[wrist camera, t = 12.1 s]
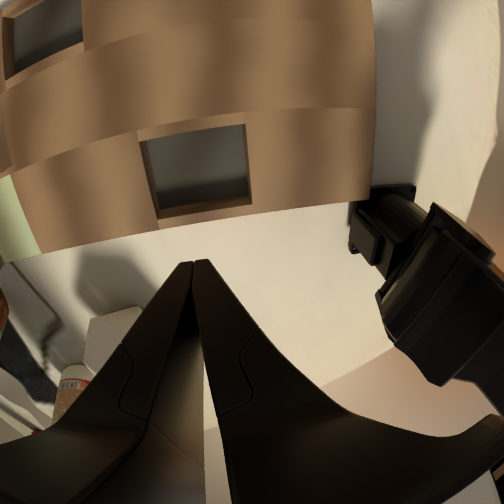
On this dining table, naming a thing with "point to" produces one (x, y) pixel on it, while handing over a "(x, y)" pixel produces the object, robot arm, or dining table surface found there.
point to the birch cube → (3, 152)
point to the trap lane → (178, 114)
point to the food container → (3, 311)
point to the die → (107, 336)
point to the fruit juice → (70, 388)
